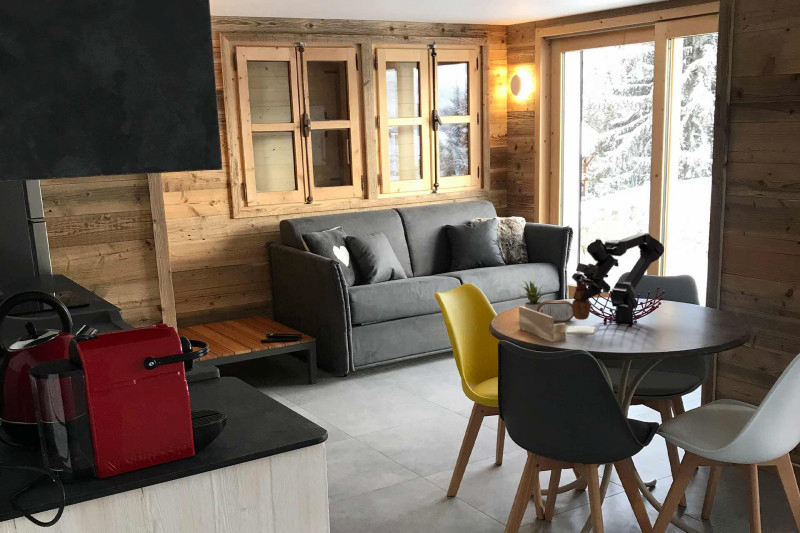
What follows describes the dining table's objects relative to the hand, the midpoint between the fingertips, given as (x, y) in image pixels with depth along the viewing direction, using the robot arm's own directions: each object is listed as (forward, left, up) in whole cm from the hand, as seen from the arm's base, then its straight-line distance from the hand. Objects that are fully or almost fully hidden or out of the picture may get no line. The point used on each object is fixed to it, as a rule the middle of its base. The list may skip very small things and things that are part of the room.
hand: (577, 300), depth 300 cm
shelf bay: (+13, +6, -12) cm, 19 cm away
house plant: (+21, -23, -12) cm, 33 cm away
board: (-1, -1, -12) cm, 12 cm away
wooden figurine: (-1, -1, -8) cm, 8 cm away
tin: (+10, -17, -13) cm, 23 cm away
